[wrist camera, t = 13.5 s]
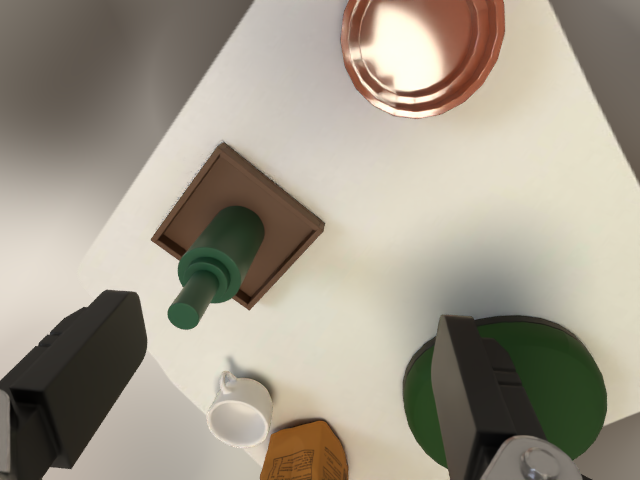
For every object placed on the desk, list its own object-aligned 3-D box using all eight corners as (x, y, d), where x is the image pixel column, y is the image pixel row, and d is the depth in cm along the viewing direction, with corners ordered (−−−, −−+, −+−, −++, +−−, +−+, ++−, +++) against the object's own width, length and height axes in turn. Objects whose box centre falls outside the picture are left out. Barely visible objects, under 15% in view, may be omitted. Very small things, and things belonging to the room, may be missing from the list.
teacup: (285, 408, 58) (278, 442, 53) (233, 418, 59) (221, 452, 54) (257, 350, 54) (247, 381, 49) (202, 361, 55) (187, 393, 51)
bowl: (318, 6, 37) (312, 2, 33) (454, -82, 34) (467, -100, 29) (381, 132, 41) (383, 144, 37) (508, 65, 38) (527, 69, 33)
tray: (158, 232, 48) (150, 240, 46) (223, 141, 43) (217, 146, 41) (253, 301, 51) (249, 310, 49) (325, 223, 46) (323, 231, 44)
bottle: (203, 219, 46) (130, 302, 32) (246, 196, 45) (190, 272, 30) (232, 261, 48) (176, 356, 34) (274, 240, 47) (234, 331, 32)
